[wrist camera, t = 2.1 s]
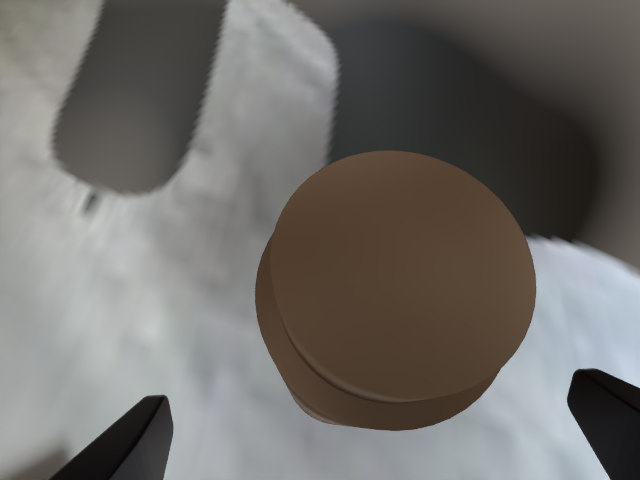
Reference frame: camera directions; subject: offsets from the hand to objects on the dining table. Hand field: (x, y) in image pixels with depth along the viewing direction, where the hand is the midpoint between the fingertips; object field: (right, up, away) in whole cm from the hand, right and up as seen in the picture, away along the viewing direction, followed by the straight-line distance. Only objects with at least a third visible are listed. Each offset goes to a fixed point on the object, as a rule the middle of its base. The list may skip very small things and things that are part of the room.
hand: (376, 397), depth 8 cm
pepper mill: (0, -2, +9) cm, 9 cm away
